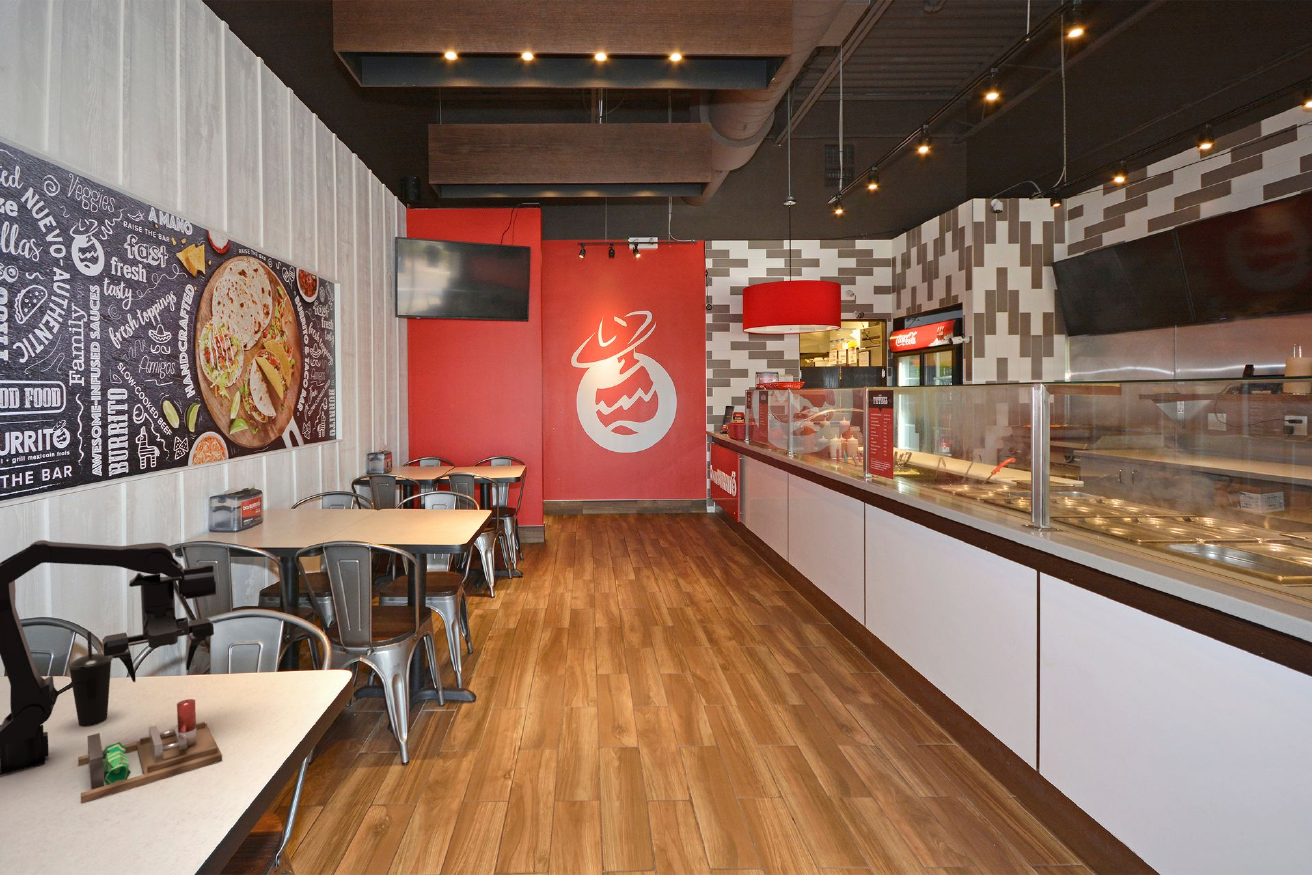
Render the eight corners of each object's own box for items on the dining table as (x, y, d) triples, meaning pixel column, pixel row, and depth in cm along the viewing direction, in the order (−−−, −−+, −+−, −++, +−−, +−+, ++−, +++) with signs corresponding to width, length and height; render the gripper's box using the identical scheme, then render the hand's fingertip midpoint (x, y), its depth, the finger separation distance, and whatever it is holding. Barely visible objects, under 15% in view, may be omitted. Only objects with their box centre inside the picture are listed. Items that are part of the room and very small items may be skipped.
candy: (135, 775, 126) (119, 761, 124) (116, 791, 124) (99, 777, 122) (130, 751, 135) (114, 738, 133) (112, 765, 133) (96, 752, 131)
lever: (155, 763, 128) (153, 719, 128) (149, 744, 136) (147, 702, 135) (200, 750, 133) (199, 708, 133) (192, 732, 141) (191, 692, 140)
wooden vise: (81, 803, 118) (79, 769, 118) (78, 763, 132) (76, 732, 131) (222, 760, 132) (221, 730, 132) (206, 728, 146) (205, 700, 145)
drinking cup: (124, 714, 153) (120, 626, 152) (93, 730, 145) (88, 638, 144) (93, 712, 153) (89, 625, 152) (60, 728, 146) (56, 637, 145)
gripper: (103, 621, 131) (107, 700, 132) (217, 602, 144) (219, 674, 144) (100, 609, 139) (104, 683, 140) (208, 592, 152) (210, 660, 153)
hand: (161, 675), depth 144 cm, fingers open, 9 cm apart
